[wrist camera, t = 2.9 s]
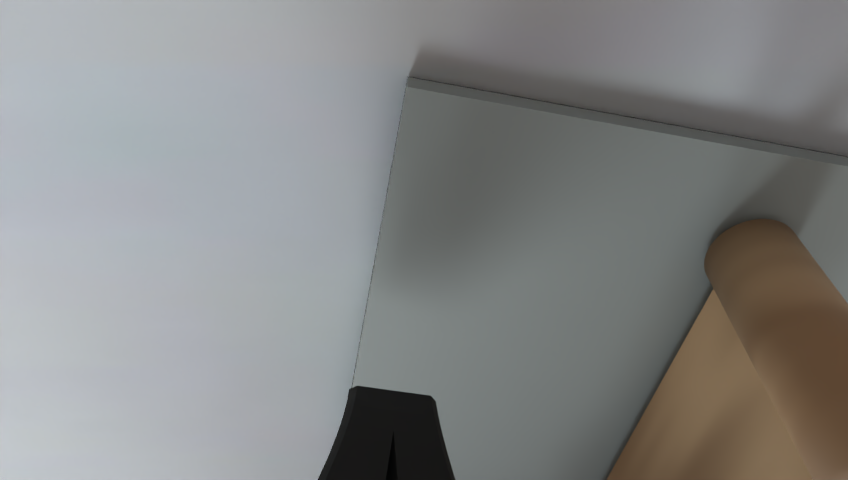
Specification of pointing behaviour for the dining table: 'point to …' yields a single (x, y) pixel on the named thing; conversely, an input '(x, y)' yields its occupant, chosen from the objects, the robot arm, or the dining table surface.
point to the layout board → (562, 267)
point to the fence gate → (752, 372)
